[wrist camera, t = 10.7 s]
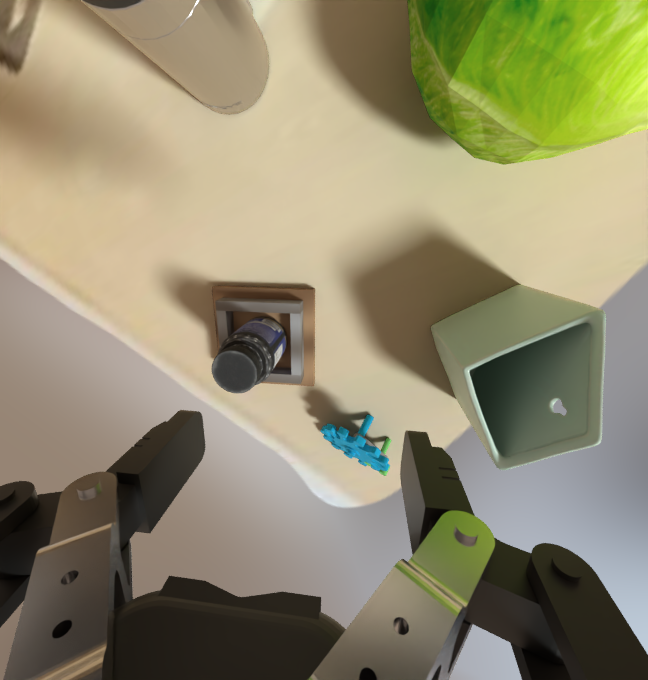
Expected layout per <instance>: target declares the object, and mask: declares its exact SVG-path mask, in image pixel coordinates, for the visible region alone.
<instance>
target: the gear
mask: <svg viewBox="0 0 648 680" xmlns="http://www.w3.org/2000/svg"><path fill="white" fill-rule="evenodd" d="M373 419H374V418H373V417H372V416H370V415H367V416H366V418H365V420H364V422H363V424H362V426H361V427H360V429H359V431H358V433H355V434H354V436H353V437H351V436H349V435H348V434H349V431H348V430H347V429H345V428H343V427H340V428H339V430H338V431H337V430H336V427H335V426H334V425H332V424H329V423H328V424H327V425H324V426H323V427H322V429H321V432H322V433H323V434H324V436H323V437H324V438H325V439H326V440H328V441H330V442H332V446H333V447H335V448H336V449H340V450H343V451H345V452H344V454H345V455H346V456H348V457H349V458H352V457H355V458H358V459H359V461H358V462H359V463H360V464H362V465H364V466H367V465H369V466H371V468H373V469H374V470H377V471H379V473H381V474H382V475H384V476H386V475H387V472H388V470H389V468H390V465H389V464H388V461H389V459H388V458H387V456H386V455H385V453H386V451H387V449H388V447H389V445H390V442H391V440H390V439H389V438H386V440H385V443H384V445H383V447H382V449H381V451H380V450H379V449H378V448H377V447H376V446H374V445H373V444H372V443H371V442H370V441H368V440H367V439H366V438H365V437H364V436H365V434H366V432H367V430H368V429H369V427H370V425H371V423H372V421H373Z"/></svg>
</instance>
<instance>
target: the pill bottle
mask: <svg viewBox="0 0 648 680" xmlns="http://www.w3.org/2000/svg"><path fill="white" fill-rule="evenodd" d="M286 347H287V336H286V333H285V330H284V328H283V327H282V326H281V324H280V323H278V322H277V321H276V320H274V319H272V318H269V317H263V316H261V317H255V318H253V319H251V320H249V321H248V322H247V323H246V324H244V325H243V326H242V327H240V328H239V329H238V330H237V331H235V332H234V333H233V334H232V335H230V336H229V337H228V338H227V339H225V340H224V342H223V343H222V344H221V346H220V348H219V352H218V355H217V356H216V358H215V359H214V361H213V364H212V374H213V377H214V379H215V381H216V382H217V384H218V385H219V386H220V387H221V388H223V389H224V390H226V391H228V392H232V393H244V392H246V391H248V390H250V389H251V388H252V387H253V386H254V385H257V384H260V383H261V382H263V381H264V380H266V379H267V377H268V376H269V375H270V373H271V372H272V370H273V369H274V367H275V365H276V364H277V362H278V361H279V359H280V358H281V356H282V354H283V353H284V351H285V349H286Z"/></svg>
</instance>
